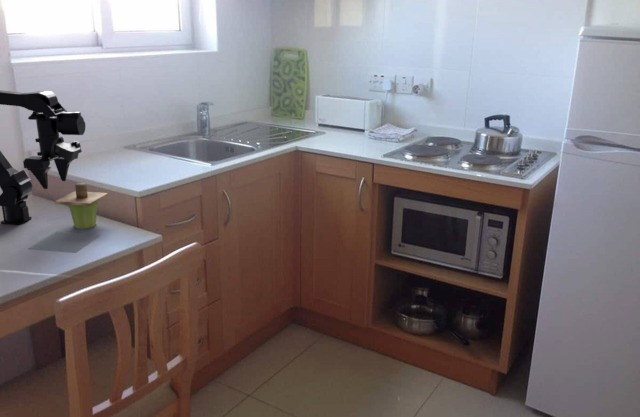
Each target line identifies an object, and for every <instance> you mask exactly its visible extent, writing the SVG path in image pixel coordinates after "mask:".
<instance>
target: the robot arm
mask: <svg viewBox="0 0 640 417" xmlns="http://www.w3.org/2000/svg"><path fill="white" fill-rule="evenodd" d="M1 105H3V106H12V107H21V108H24V109H25V110H28V111H31V112H32V113H31V114H30V115H29V116H28V120H30V121H32V120H33V121H35V123H36V128H37V136H38V137H37V138H35V143H39V144H38V145H39V151H38V152H36V154H37V156H36V155H32V156H29V157H26V158H25V159H24V160H23V161H22V162H23V164H22V165H23V169H21V170H18V169H16V168H14V167H13V166H12V164H11V163H10V162H9V160H8V159H7V158H6V157H5V155H4V154H3V152H2V151H1V150H0V189H1V191H2V193H0V207H1V211H2V217H3V220H1V221H0V224H5V225H8V224H9V225H21V224H24V223H25V222H27V221H29V220H32V216H30V212H29V207H28V205H27V201H26V200H27V199H28V198H29V194H30V193H31V192H32V190H33V183H32V182H31V181H32V179H31V178H30V177H29V176H28V175H27V173H26V171H25V170H24V169H27V171H29V172H31V174H32V175H33V176H34V177H35V179H36V180H37V181H38V182H39V184H40V185H41V187H42V188H43V189H44V190H48V188H49V181H48V180H49V179H48V178H49V177H48V176H49V175H48V172H49V171H50V170H51V168H52V167H51V166H50V165H51V162H52V161H54V164H55V167H56V169H57V171H58V172H57V173H58V175H59V177H60V179H61V180H60V181H62V182H66V180H67V177H68V171H69V168H70V164H71V163H72V162H73V161H74V160H78V158H79V154H80V153H82V152H83V151H82V147H81V146H82V145H81V143H80V142H79V141H76V140H75V141H72V142H71V143H70V142H68V143H67V142H65V139H64V138H63V136H60V134H61V135H64V136H65V135H66V136H68V135H69V136H83V135H84V134H85V131H86V122H85V119H84V117H83V116H82V114H81V111H73V112H72V111H70V112H68V111H67V109H66V108H65V107H64V106H63V105H62V104H61V102H60V101H59V99H58V97H57V94H55V93H54V92H53V91H50V90H41V91H40V90H39V91H32V92H19V91H10V90H1V89H0V106H1Z"/></svg>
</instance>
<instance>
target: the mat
mask: <svg viewBox="0 0 640 417" xmlns="http://www.w3.org/2000/svg"><path fill="white" fill-rule="evenodd" d="M100 236H102V234H94V233H80V232H69V231H56V232H54V233H52V234H51V235H49V236H46V237H45V238H44V239H42V240H40V241H39V242H37V243H36V244H34V245H32V246H30V247H28V248H27V249H28V250H35V251H36V250H37V251H51V252H58V253H59V252H61V253H74V254H75V253H76V254H77V252H79V251H80V250H82V249H83V248H85V247H86V246H88V245H89V244H90V243H92V242H93V241H95V240H96V239H98V238H99V237H100Z"/></svg>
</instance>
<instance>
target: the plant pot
mask: <svg viewBox="0 0 640 417" xmlns="http://www.w3.org/2000/svg"><path fill="white" fill-rule="evenodd" d="M98 204H99V201H98V202H96V203H94V204H93V205H91V206H82V205H67V206H68V208H69V211H70V214H71V219H72V223H73V226H74V228H76V229H83V230H84V229H90V228H92V227H95V226H96V224H97V213H98V212H97V210H98Z"/></svg>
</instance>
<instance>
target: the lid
mask: <svg viewBox="0 0 640 417" xmlns="http://www.w3.org/2000/svg"><path fill="white" fill-rule="evenodd" d="M87 185H88V184H87V182H86V183H85V182H77V183H75V184H74V188H75V190H74V191H71V192H70V193H68V194H66V195H64V196H62V197H59V198H58V199H56V200H55V201H54V204H57V205H67V206H68V205H82V206H91V205H93V204H94V203H96V202H98V203H99V202H101V201H102V200H103V199H104V198H107V197H108V196H109V193H108V192H95V191H88V187H87Z"/></svg>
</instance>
